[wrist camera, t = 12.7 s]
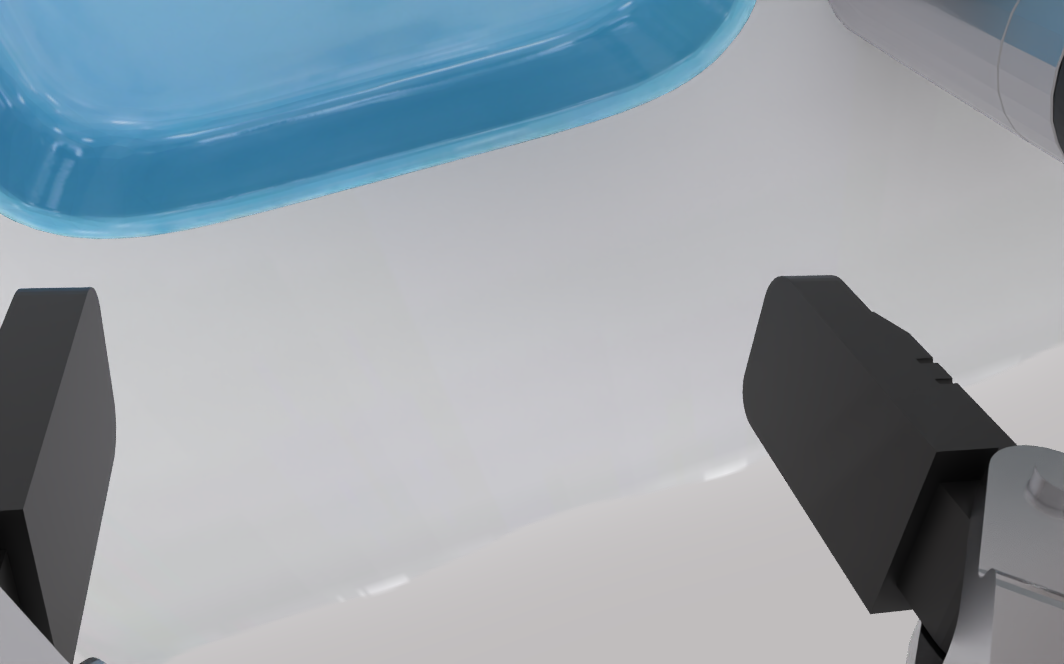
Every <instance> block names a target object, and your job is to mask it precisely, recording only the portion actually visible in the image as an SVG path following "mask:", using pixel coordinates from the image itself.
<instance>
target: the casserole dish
mask: <svg viewBox="0 0 1064 664" xmlns="http://www.w3.org/2000/svg"><path fill="white" fill-rule="evenodd" d="M755 3H756V0H0V214H2V215H4V216H6V217H8V218H9V219H11V220H13V221H15V222H18V223H21V224H24V225H26V226H29V227H31V228H34V229H36V230H41V231H45V232H49V233H53V234H57V235H63V236H69V237H77V238H93V239H112V238H132V237H146V236H152V235H158V234H165V233H171V232H177V231H183V230H189V229H193V228H198V227H202V226H206V225H211V224H215V223H219V222H224V221H228V220H232V219H237V218H241V217H245V216H249V215H253V214H257V213H261V212H264V211H268V210H272V209H276V208H280V207H284V206H288V205H292V204H295V203H299V202H303V201H307V200H311V199H314V198H318V197H321V196H325V195H328V194H332V193H336V192H339V191H343V190H347V189H351V188H354V187H358V186H362V185H366V184H370V183H374V182H377V181H381V180H385V179H388V178H392V177H396V176H399V175H403V174H407V173H410V172H414V171H418V170H421V169H425V168H429V167H433V166H436V165H440V164H444V163H448V162H451V161H455V160H459V159H463V158H466V157H470V156H474V155H477V154H481V153H485V152H489V151H492V150H496V149H500V148H503V147H507V146H511V145H515V144H518V143H522V142H526V141H529V140H533V139H537V138H540V137H544V136H548V135H551V134H555V133H558V132H561V131H564V130H568V129H571V128H574V127H578V126H581V125H584V124H588V123H591V122H594V121H597V120H600V119H603V118H606V117H609V116H612V115H615V114H618V113H621V112H624V111H626V110H629V109H632V108H634V107H637V106H639V105H642V104H644V103H647V102H649V101H651V100H653V99H655V98H658V97H660V96H662V95H664V94H666V93H668V92H670V91H672V90H674V89H676V88H678V87H679V86H681V85H683V84H684V83H686V82H688V81H689V80H691V79H692V78H694V77H695V76H696V75H698V74H699V73H701V72H702V71H703V70H704V69H706V68H707V67H708V66H709V65H710V64H712V63H713V62H714V61H715V60H716V59H717V58H718V57H719V56H720V55H721V54H722V53H723V52H724V51H725V50H726V48H727V47H728V46H729V45H730V44H731V42H732V41H733V40H734V39H735V38H736V36H737V35H738V34H739V32H740V31H741V29H742V28H743V26H744V25H745V23H746V21H747V20H748V18H749V16H750V14H751V12H752V10H753V8H754V5H755Z"/></svg>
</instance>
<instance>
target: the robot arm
mask: <svg viewBox="0 0 1064 664" xmlns="http://www.w3.org/2000/svg"><path fill="white" fill-rule="evenodd" d="M828 1H829V3H830V5H831V7H832V9H833V11H834V13H835V15H836V17H837V18H838V19H839V20H840V21H841V22H842V23H843V24H844V25H845V26H846V27H847V28H848V29H849V30H850V31H852V32H853V33H855V34H857V35H858V36H860V37H861V38H863V39H865V40H866V41H868V42H869V43H871V44H872V45H874V46H876V47H877V48H879V49H880V50H882V51H883V52H885V53H887V54H888V55H889V56H891V57H892V58H894V59H895V60H897V61H899V62H900V63H902V64H903V65H905V66H907V67H908V68H910V69H911V70H913V71H915V72H916V73H918V74H920V75H921V76H923V77H924V78H926V79H928V80H929V81H931V82H932V83H934V84H936V85H937V86H939V87H940V88H942V89H944V90H945V91H947V92H948V93H950V94H952V95H953V96H955V97H957V98H958V99H960V100H961V101H963V102H965V103H966V104H968V105H969V106H971V107H973V108H974V109H976V110H977V111H979V112H981V113H982V114H984V115H985V116H987V117H989V118H990V119H992V120H993V121H995V122H997V123H998V124H1000V125H1002V126H1003V127H1005V128H1006V129H1008V130H1010V131H1011V132H1013V133H1014V134H1016V135H1018V136H1019V137H1021V138H1022V139H1024V140H1026V141H1027V142H1029V143H1031V144H1033V145H1035V146H1036V147H1038V148H1039V149H1041V150H1043V151H1044V152H1046V153H1047V154H1049V155H1051V156H1052V157H1054V158H1055V159H1057V160H1059V161H1060V162H1062V163H1063V164H1064V0H828ZM743 403H744V408H745V413H746V416H747V419H748V421H749V423H750V425H751V427H752V429H753V430H754V432H755V433H756V435H757V437H758V438H759V440H760V441H761V443H762V444H763V446H764V448H765V449H766V451H767V452H768V454H769V455H770V457H771V459H772V460H773V462H774V463H775V465H776V466H777V468H778V469H779V471H780V473H781V474H782V476H783V477H784V479H785V481H786V482H787V483H788V485H789V487H790V488H791V490H792V492H793V493H794V495H795V496H796V498H797V499H798V501H799V503H800V504H801V506H802V507H803V509H804V510H805V512H806V514H807V515H808V517H809V518H810V520H811V521H812V523H813V525H814V526H815V528H816V529H817V531H818V532H819V534H820V535H821V537H822V539H823V540H824V542H825V543H826V545H827V547H828V548H829V550H830V551H831V553H832V555H833V556H834V557H835V559H836V561H837V562H838V564H839V565H840V567H841V569H842V570H843V572H844V573H845V575H846V576H847V578H848V579H849V581H850V583H851V584H852V586H853V587H854V589H855V591H856V592H857V594H858V595H859V597H860V598H861V600H862V602H863V603H864V605H865V606H866V608H867V609H868V611H869V613H870V614H875V613H884V612H893V611H902V610H912V609H913V610H914V612H915V613H916V615H917V616H918V618H919V621H918V623H917V625H916V628H915V630H914V632H913V634H912V636H911V640H910V643H909V649H908V654H907V661H906V664H1064V453H1062V452H1059V451H1056V450H1052V449H1049V448H1044V447H1038V446H1027V445H1022V446H1017V445H1016V444H1015V443H1014V442H1013V440H1012V439H1011V438H1010V437H1009V436H1008V435H1007V434H1006V433H1005V432H1004V431H1003V430H1002V429H1001V428H1000V427H999V426H998V425H997V424H996V423H995V422H994V421H993V420H992V419H991V418H990V417H989V416H988V415H987V414H986V413H985V411H983V409H982V408H981V407H980V406H979V405H978V404H977V403H976V402H975V401H974V400H973V399H972V398H971V397H970V396H969V395H968V394H967V393H966V392H965V391H964V390H963V389H962V388H961V387H960V385H959V384H958V383H955V384H953V383H952V377H951V376H950V375H949V374H948V373H947V372H946V371H945V370H944V369H943V368H942V367H941V366H940V365H939V364H938V363H933V357H932V356H931V355H930V354H929V353H928V352H927V351H926V350H925V349H924V348H923V347H922V346H921V345H920V344H919V343H918V342H917V341H916V340H915V339H914V338H913V337H912V336H911V335H910V334H909V333H908V332H906V331H905V330H903V329H901V328H900V327H898V326H896V325H895V324H893V323H891V322H890V321H888V320H886V319H885V318H883V317H881V316H880V315H878V314H876V313H875V312H871V311H870V309H869V308H868V307H867V306H866V305H865V304H864V303H863V302H862V301H861V300H860V299H859V298H858V297H857V296H856V295H855V294H854V292H853V291H852V290H851V289H850V288H849V287H848V286H847V285H846V284H845V283H844V282H843V281H842V280H841V279H840V278H839V277H837V276H833V275H817V276H780V277H777V278H775V279H774V280H773V281H772V282H771V284H770V285H769V287H768V289H767V292H766V295H765V299H764V302H763V306H762V310H761V314H760V318H759V322H758V325H757V329H756V333H755V337H754V341H753V344H752V348H751V352H750V356H749V360H748V363H747V367H746V371H745V375H744V380H743ZM115 444H116V416H115V404H114V397H113V390H112V384H111V377H110V371H109V364H108V357H107V351H106V344H105V337H104V331H103V324H102V317H101V311H100V305H99V300H98V297H97V294H96V291H95V290H94V288H92V287H84V288H29V289H18V290H17V291H16V293H15V295H14V297H13V299H12V302H11V304H10V307H9V309H8V311H7V314H6V316H5V319H4V321H3V324H2V326H1V328H0V664H73V660H74V654H75V650H76V645H77V640H78V635H79V630H80V625H81V620H82V615H83V610H84V605H85V600H86V595H87V590H88V585H89V580H90V575H91V570H92V565H93V560H94V555H95V550H96V545H97V540H98V535H99V531H100V526H101V521H102V516H103V511H104V506H105V501H106V496H107V491H108V486H109V481H110V476H111V471H112V466H113V461H114V455H115ZM80 664H106V663H105V662H103V661H101V660H100V659H97V658H94V657H92V658H88V659H87V660H85V661H83V662H82V663H80Z"/></svg>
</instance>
